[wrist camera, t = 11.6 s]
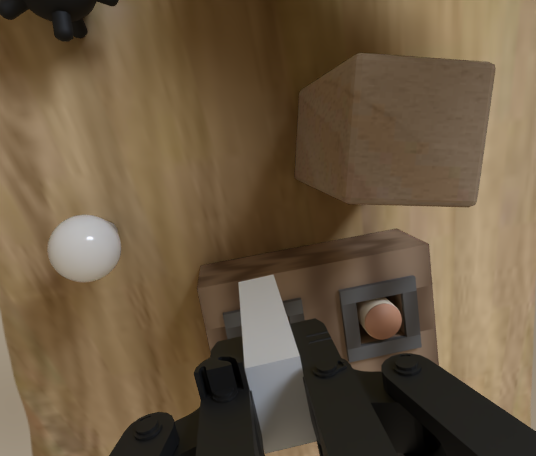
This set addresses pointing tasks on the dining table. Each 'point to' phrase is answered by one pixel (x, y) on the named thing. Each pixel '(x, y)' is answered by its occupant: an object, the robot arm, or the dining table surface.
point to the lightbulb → (84, 248)
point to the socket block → (335, 293)
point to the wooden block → (396, 130)
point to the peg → (379, 317)
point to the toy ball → (56, 14)
